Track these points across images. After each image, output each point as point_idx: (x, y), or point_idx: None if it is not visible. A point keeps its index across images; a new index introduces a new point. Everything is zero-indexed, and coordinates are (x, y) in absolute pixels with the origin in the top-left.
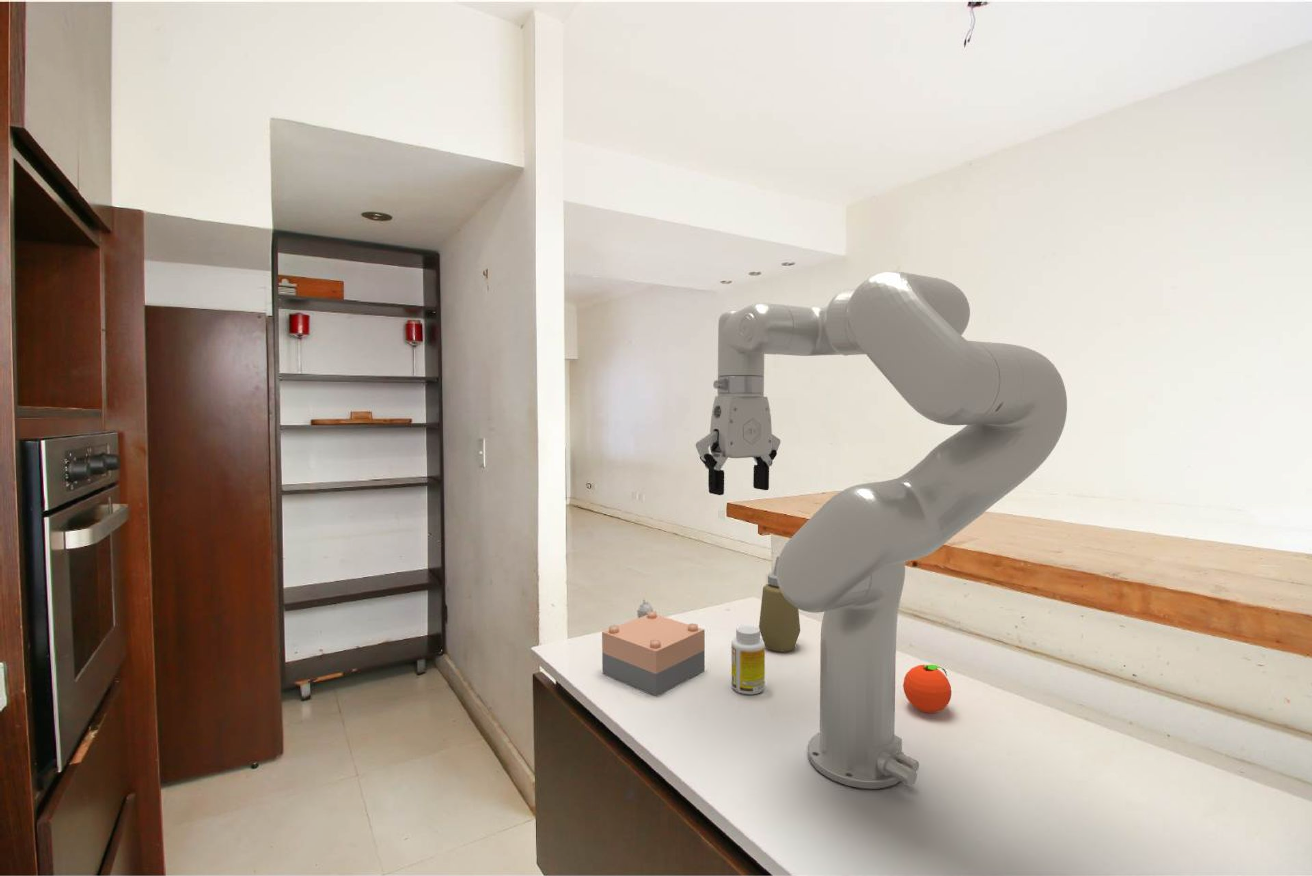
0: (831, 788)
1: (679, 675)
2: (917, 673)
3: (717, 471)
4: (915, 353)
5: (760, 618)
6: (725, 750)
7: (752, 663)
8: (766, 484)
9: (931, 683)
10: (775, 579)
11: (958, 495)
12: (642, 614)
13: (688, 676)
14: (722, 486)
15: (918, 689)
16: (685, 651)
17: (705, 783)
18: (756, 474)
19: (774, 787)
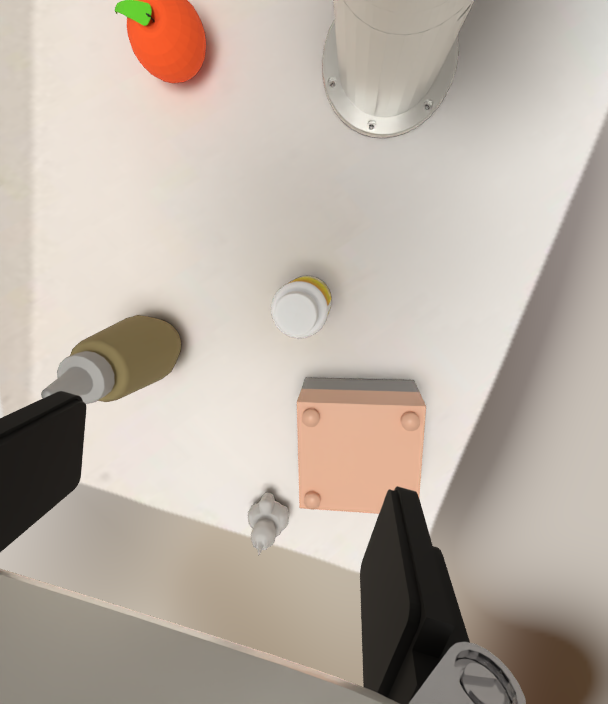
0: (469, 57)
1: (363, 383)
2: (173, 30)
3: (445, 648)
4: None
5: (159, 377)
6: (474, 222)
7: (319, 286)
8: (56, 407)
9: (180, 2)
10: (104, 375)
11: None
12: (274, 532)
13: (342, 380)
14: (415, 518)
15: (197, 30)
16: (349, 394)
17: (557, 194)
18: (13, 516)
19: (512, 119)
